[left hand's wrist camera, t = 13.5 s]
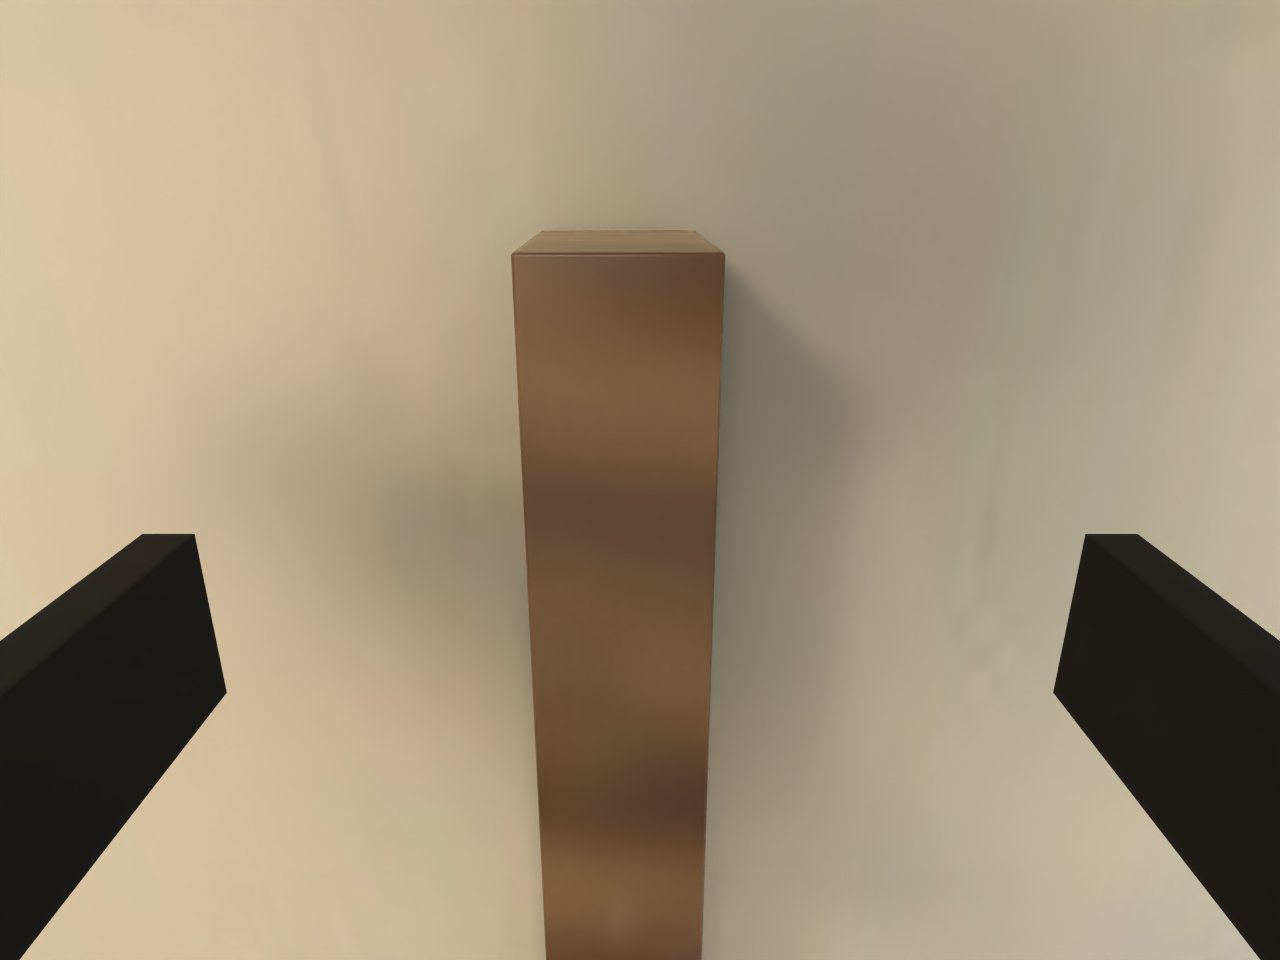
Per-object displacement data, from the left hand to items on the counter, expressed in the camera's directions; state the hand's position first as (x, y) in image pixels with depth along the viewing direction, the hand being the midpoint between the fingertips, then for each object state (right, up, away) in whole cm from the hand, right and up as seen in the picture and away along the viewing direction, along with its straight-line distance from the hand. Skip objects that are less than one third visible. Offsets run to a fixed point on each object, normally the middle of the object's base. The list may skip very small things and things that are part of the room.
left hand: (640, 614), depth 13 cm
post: (-1, -19, +22) cm, 29 cm away
